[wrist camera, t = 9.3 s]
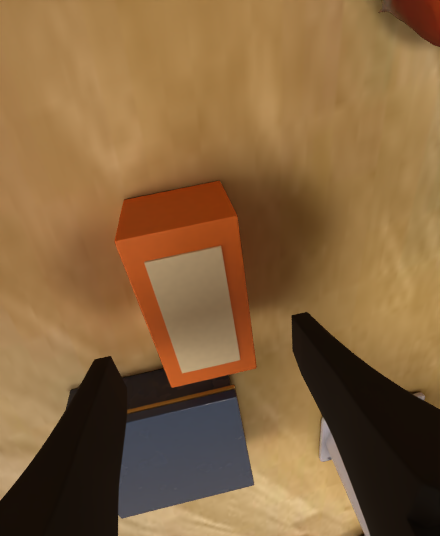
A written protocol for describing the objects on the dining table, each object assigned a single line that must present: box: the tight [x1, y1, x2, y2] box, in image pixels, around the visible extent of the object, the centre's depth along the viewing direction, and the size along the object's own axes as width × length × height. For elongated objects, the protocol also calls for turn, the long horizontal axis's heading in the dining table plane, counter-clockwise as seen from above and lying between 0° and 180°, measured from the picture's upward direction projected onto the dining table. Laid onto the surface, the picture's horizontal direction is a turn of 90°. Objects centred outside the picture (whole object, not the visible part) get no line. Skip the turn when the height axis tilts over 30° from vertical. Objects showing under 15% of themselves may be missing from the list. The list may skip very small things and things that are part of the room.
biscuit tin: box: [66, 369, 254, 518], centre depth 24 cm, size 11×12×4 cm
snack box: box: [115, 181, 257, 388], centre depth 16 cm, size 9×5×4 cm, turn 9°
